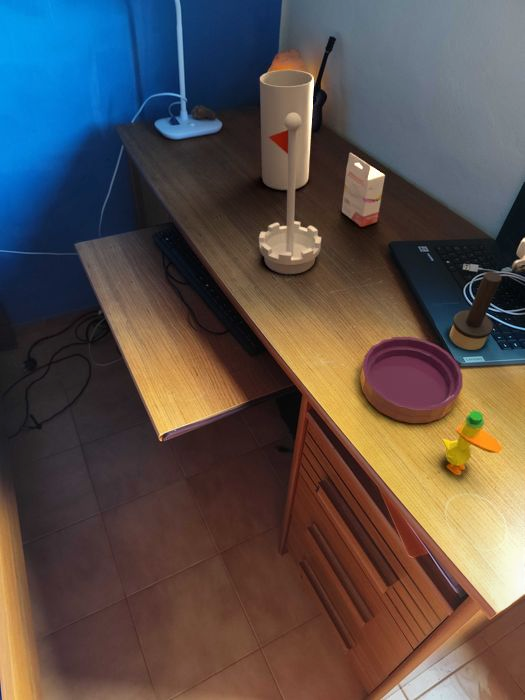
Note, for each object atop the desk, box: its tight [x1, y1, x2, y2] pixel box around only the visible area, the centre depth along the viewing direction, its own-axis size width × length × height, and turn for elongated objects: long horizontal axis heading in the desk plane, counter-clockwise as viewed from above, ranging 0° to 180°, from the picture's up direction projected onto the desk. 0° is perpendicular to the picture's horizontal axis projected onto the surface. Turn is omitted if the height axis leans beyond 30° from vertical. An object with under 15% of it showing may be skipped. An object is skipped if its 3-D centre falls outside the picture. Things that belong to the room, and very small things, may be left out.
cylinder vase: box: [259, 69, 315, 191], centre depth 117 cm, size 12×12×25 cm
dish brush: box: [449, 271, 502, 351], centre depth 78 cm, size 6×6×14 cm
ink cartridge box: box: [341, 152, 386, 228], centre depth 107 cm, size 9×5×15 cm, turn 27°
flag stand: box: [258, 113, 322, 275], centre depth 90 cm, size 13×13×30 cm
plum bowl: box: [359, 336, 464, 424], centre depth 75 cm, size 15×15×4 cm
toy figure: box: [441, 410, 503, 476], centre depth 61 cm, size 7×4×12 cm, turn 48°
